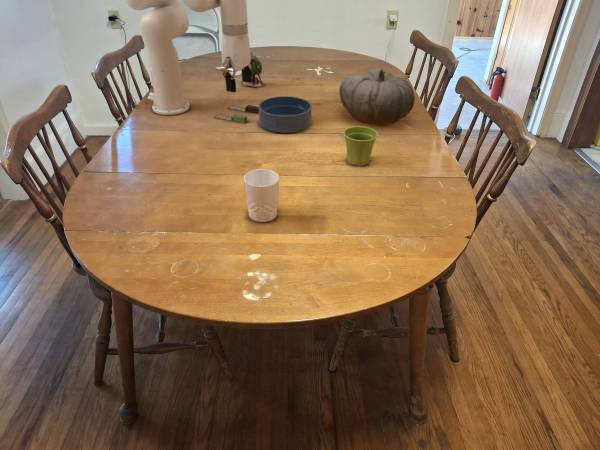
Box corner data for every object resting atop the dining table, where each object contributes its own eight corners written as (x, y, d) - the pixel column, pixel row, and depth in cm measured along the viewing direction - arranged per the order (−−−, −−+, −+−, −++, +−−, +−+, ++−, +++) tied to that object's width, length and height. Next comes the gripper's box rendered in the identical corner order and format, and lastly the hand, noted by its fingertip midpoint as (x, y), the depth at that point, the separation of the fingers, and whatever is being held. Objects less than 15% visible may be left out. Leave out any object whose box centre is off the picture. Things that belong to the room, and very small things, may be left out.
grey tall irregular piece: (249, 91, 176) (247, 36, 164) (238, 82, 184) (235, 29, 172) (269, 88, 179) (267, 33, 167) (257, 79, 187) (255, 26, 175)
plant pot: (352, 172, 126) (355, 143, 121) (335, 157, 132) (337, 129, 127) (381, 165, 129) (384, 136, 124) (362, 151, 136) (365, 123, 131)
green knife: (247, 121, 153) (247, 115, 152) (244, 123, 151) (243, 118, 150) (219, 115, 156) (218, 110, 155) (215, 117, 154) (215, 112, 153)
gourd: (326, 119, 148) (337, 63, 140) (342, 104, 169) (353, 55, 161) (403, 138, 143) (419, 81, 135) (409, 120, 165) (424, 71, 157)
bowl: (249, 128, 148) (248, 110, 144) (273, 109, 161) (273, 93, 157) (298, 138, 142) (298, 120, 139) (319, 118, 155) (319, 101, 152)
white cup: (246, 205, 112) (244, 169, 106) (279, 204, 112) (278, 168, 106) (246, 224, 105) (243, 186, 99) (280, 223, 106) (280, 185, 100)
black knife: (260, 111, 159) (260, 106, 158) (257, 113, 158) (257, 108, 157) (232, 106, 163) (232, 101, 162) (229, 108, 161) (229, 103, 160)
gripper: (238, 22, 143) (242, 77, 153) (208, 34, 130) (214, 93, 140) (260, 24, 141) (262, 80, 151) (231, 37, 128) (235, 97, 138)
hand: (239, 86), depth 145 cm, fingers open, 9 cm apart
